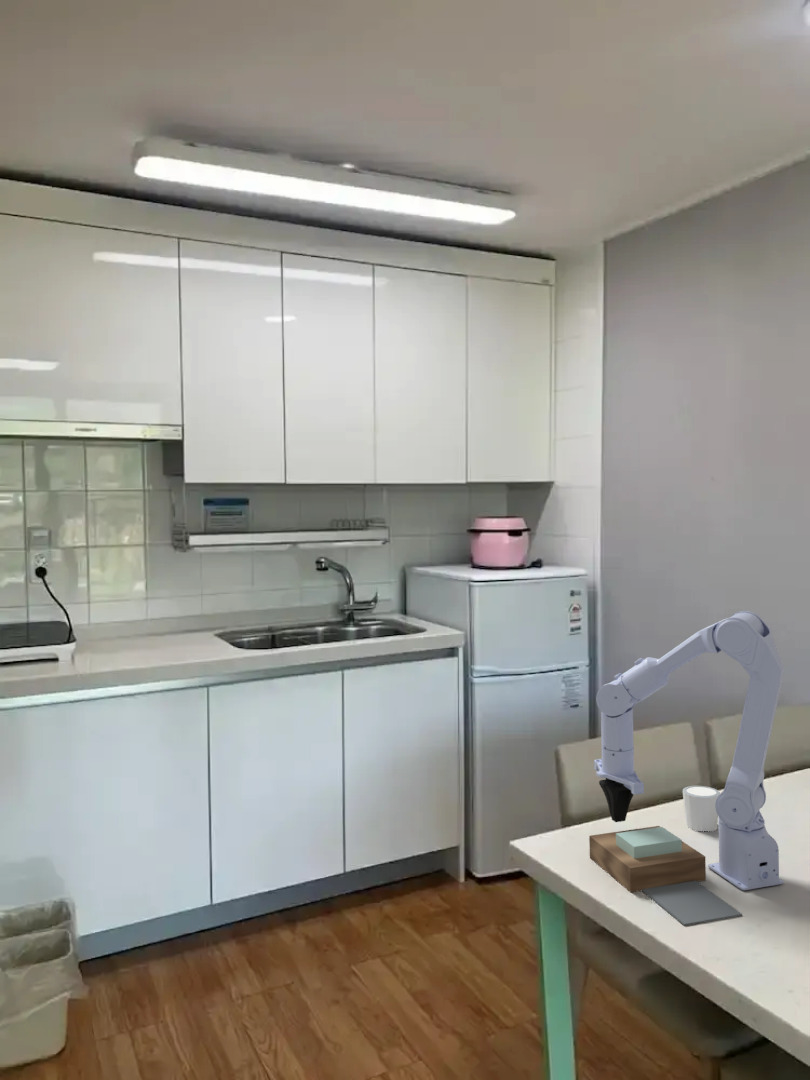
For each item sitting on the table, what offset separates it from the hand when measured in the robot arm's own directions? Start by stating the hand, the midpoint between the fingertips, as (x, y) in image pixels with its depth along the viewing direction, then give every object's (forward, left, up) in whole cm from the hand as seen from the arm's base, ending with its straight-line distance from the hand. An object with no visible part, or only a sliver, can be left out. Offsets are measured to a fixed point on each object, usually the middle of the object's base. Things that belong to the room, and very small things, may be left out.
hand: (618, 820), depth 152 cm
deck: (-9, 0, -5) cm, 10 cm away
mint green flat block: (-10, 0, -1) cm, 10 cm away
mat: (-22, 0, -5) cm, 23 cm away
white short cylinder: (+4, -20, -5) cm, 21 cm away
